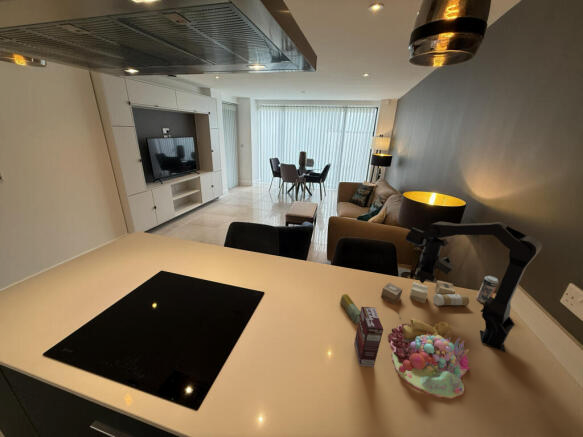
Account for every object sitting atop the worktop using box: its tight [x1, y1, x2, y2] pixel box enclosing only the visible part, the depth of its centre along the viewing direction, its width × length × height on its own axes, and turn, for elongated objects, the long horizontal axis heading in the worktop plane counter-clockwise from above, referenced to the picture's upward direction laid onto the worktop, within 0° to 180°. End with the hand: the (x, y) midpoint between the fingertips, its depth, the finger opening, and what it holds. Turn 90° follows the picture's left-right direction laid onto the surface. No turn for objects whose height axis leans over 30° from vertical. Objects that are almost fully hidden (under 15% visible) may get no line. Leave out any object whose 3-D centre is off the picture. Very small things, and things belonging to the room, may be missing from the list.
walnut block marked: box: [380, 282, 403, 305], centre depth 101 cm, size 6×6×5 cm
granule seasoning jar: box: [432, 293, 470, 307], centre depth 99 cm, size 5×5×14 cm
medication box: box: [339, 293, 361, 325], centre depth 92 cm, size 12×3×4 cm, turn 17°
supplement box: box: [353, 306, 384, 367], centre depth 72 cm, size 9×5×16 cm, turn 177°
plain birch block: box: [408, 281, 429, 304], centre depth 103 cm, size 6×6×5 cm
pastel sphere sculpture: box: [387, 318, 470, 400], centre depth 74 cm, size 25×24×9 cm
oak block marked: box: [434, 280, 456, 295], centre depth 105 cm, size 6×6×5 cm
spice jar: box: [475, 275, 499, 304], centre depth 101 cm, size 5×5×12 cm
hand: (421, 282), depth 101 cm, fingers closed
